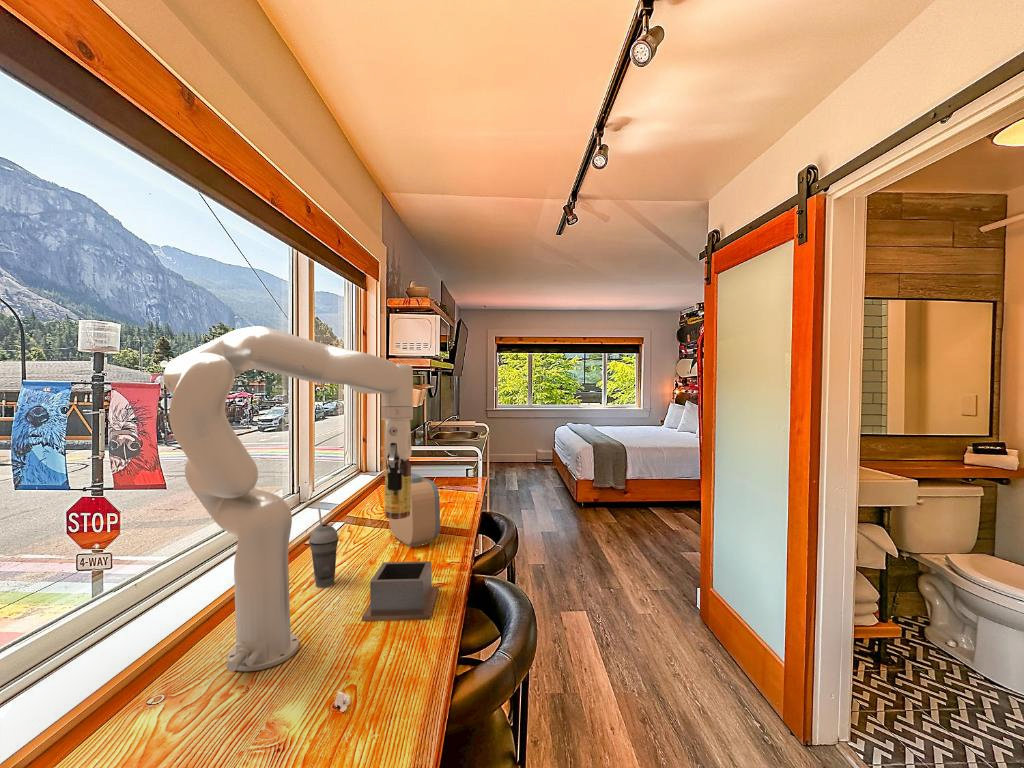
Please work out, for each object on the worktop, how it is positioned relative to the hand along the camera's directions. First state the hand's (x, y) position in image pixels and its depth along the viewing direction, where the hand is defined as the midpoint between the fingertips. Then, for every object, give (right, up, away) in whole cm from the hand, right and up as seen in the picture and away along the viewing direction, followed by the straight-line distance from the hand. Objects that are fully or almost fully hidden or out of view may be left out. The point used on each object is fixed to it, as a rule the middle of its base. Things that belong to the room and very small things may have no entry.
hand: (397, 486), depth 124 cm
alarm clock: (-4, -27, +42) cm, 50 cm away
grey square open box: (+2, -27, -5) cm, 28 cm away
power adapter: (+2, -28, -41) cm, 50 cm away
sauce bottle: (0, -8, 0) cm, 8 cm away
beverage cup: (-21, -28, +8) cm, 35 cm away
